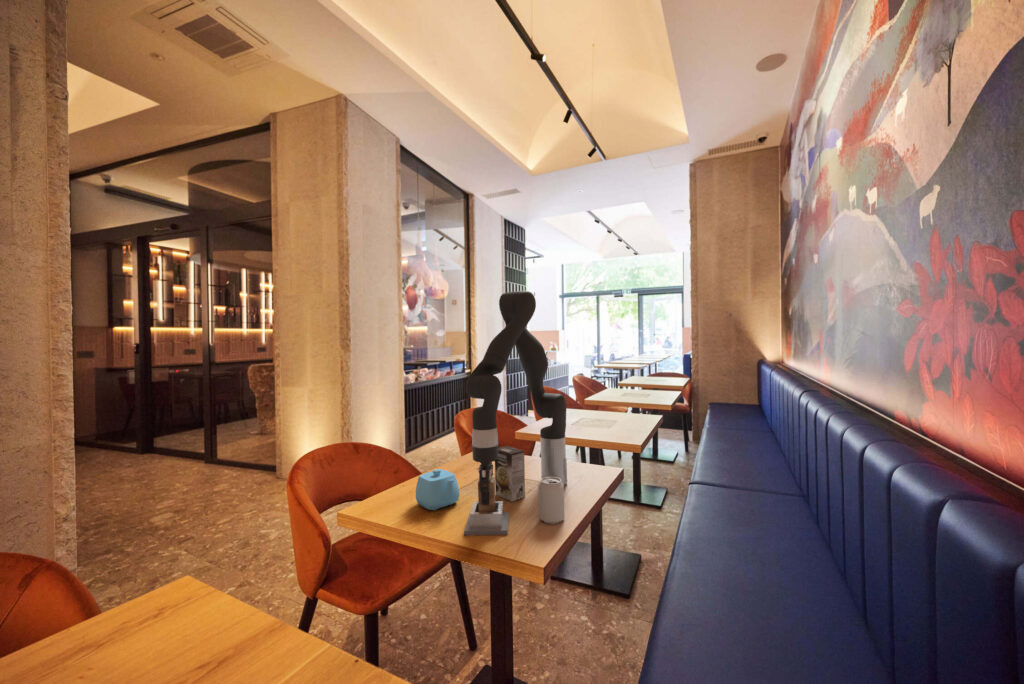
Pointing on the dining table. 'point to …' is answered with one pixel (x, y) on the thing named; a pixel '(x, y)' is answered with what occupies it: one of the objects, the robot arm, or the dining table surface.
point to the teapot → (437, 489)
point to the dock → (487, 521)
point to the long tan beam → (491, 505)
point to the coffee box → (510, 473)
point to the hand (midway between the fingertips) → (486, 498)
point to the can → (551, 500)
